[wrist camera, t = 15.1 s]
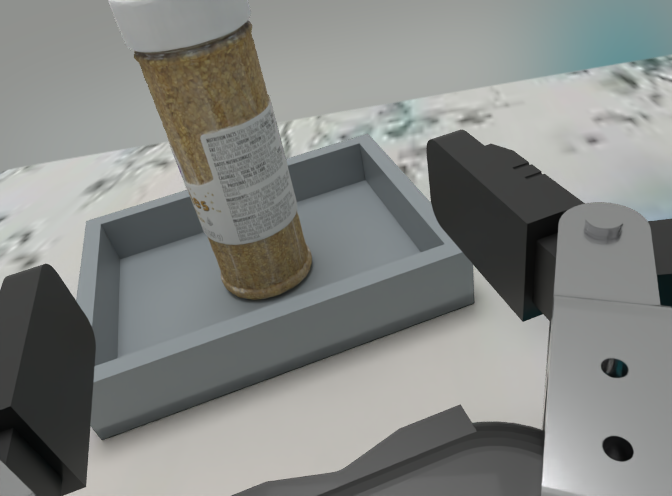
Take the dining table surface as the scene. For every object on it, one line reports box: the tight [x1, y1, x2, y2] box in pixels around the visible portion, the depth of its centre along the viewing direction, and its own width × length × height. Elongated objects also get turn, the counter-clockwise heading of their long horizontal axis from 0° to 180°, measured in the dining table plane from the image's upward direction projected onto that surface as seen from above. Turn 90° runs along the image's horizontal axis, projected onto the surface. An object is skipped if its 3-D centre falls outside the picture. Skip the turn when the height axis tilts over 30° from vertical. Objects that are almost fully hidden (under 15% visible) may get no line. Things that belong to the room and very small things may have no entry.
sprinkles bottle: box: [108, 0, 312, 300], centre depth 22 cm, size 5×5×14 cm
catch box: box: [76, 134, 474, 440], centre depth 26 cm, size 16×12×3 cm
